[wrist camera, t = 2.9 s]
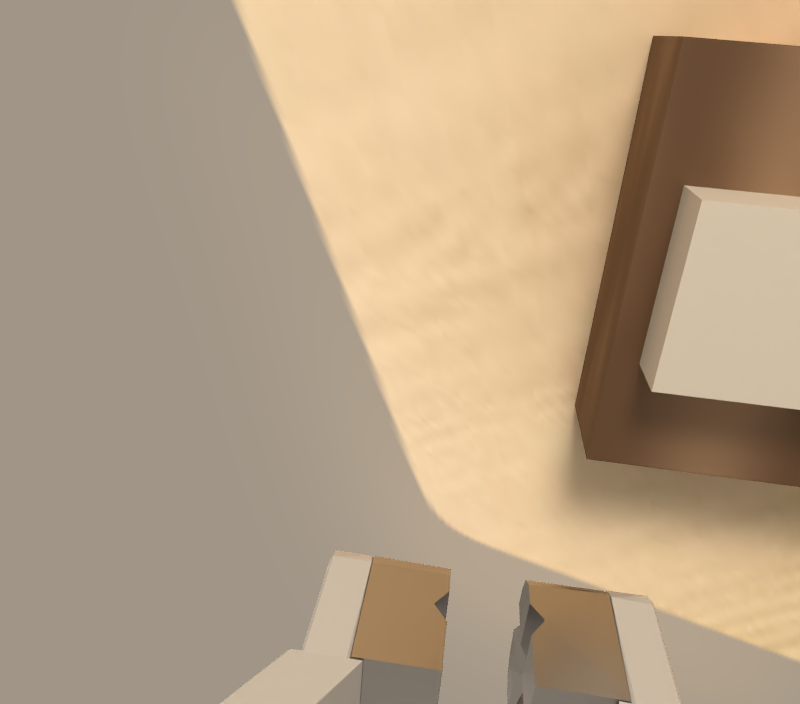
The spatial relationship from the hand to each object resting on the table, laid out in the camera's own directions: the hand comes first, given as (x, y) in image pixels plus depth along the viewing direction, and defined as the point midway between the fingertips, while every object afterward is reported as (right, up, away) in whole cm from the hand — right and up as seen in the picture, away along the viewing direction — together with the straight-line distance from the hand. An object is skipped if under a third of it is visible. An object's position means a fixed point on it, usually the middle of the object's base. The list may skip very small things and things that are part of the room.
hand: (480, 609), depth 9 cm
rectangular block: (+12, +5, +13) cm, 18 cm away
